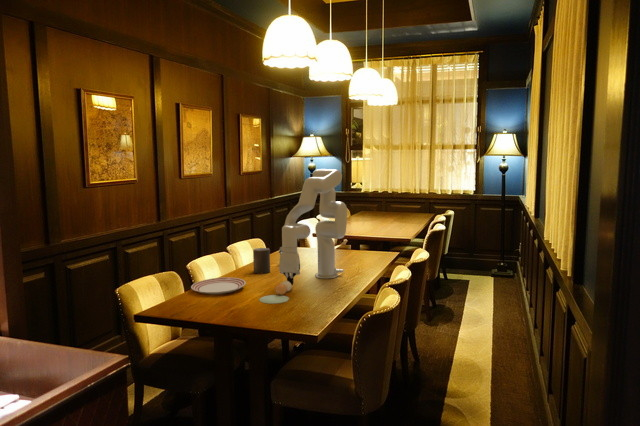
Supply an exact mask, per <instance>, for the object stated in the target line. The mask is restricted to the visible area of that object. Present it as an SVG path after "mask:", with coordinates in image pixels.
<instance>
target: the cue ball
mask: <svg viewBox="0 0 640 426" xmlns="http://www.w3.org/2000/svg"><path fill="white" fill-rule="evenodd" d="M280 284H284V285H285V286H286V288H287V291H286V293H287V292H290V291H291V290H292V288H293V285H291V283H290V282H289V281H287V280H283V281H281V283H280Z"/></svg>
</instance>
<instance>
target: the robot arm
mask: <svg viewBox="0 0 640 426" xmlns="http://www.w3.org/2000/svg"><path fill="white" fill-rule="evenodd" d="M342 179H343V175H342V172H341V171H340V170H339V169H335V168H333V169H332V168H328V169H327V168H319V169H316V170H314V171H313V173H312V176H311V177H308V178H306V179H305V180H304V183H303V186H302V188H301V189H302V190H301V191H300V192H301V193H300V195H299V200H298V203H297V204H296V205H295V206H293V208H292V209H291V210H290V211H289V213H288V214H287V215H286V218H285V220H284V221H285V222H284V225H283V226H282V227H281V244H282V245H281V246H280V247H279V250H282V252H281V254H280V253H279V260H278V261H279V262H278V263H279V264H278V270H279V271H278V272H279V274H281V275H284V276H285V278H286V281H289V282H290V283H291V285H292V286H293V284H294V277H295V276H299V275H300V274H301V260H300V254H299V252H297V251H298V239H299V240H300V239H302V240H304V239H307V238H308V237H309V236H310V235H311V227H310V226H309V225H307V224H304V223H297V220H298V219H299V217H301V215H303V214H305V213H308V212H310V211H311V210H313V209H314V208H315V205H316V200H317V197H318V194H320V197H319V215H320V217H322V218H327V219H334V220H324V219H323V220H319V221H318V222H316V224H315V235H316V241H317V243H316V244H317V273H315V275H314V276H315V277H316V278H318V279H322V280H323V279H335V278H337V277H338V276H339V275H338V273H339V274H340V273H344V268H343V269H342V268H341V269H340V268H337V267H336V266H335V265H336V262H335V261H336V260H335V259H336V251H335V249H336V247H335V246H336V245H335V242H334V239H338V240H339V239H343V238H344V237H345V235H346V233H347V226H348V225H347V222H348V221H347V220H348V207H347V204H345V202H343V201H338V200H337V201H336V192H337V191H336V190H335V188H336V187H337V186H339V185H340V184H341V182H342Z"/></svg>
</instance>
